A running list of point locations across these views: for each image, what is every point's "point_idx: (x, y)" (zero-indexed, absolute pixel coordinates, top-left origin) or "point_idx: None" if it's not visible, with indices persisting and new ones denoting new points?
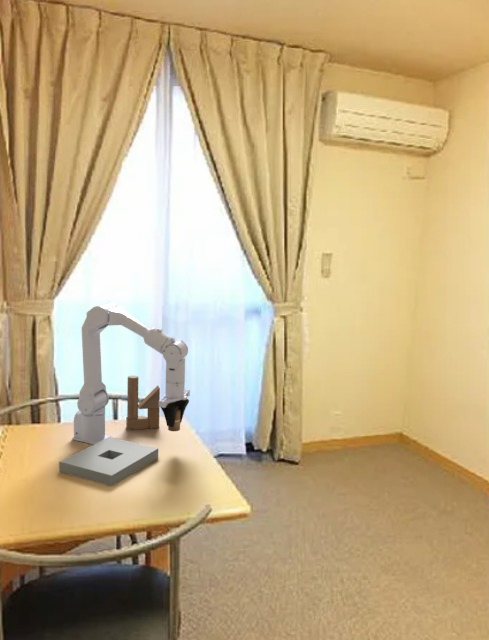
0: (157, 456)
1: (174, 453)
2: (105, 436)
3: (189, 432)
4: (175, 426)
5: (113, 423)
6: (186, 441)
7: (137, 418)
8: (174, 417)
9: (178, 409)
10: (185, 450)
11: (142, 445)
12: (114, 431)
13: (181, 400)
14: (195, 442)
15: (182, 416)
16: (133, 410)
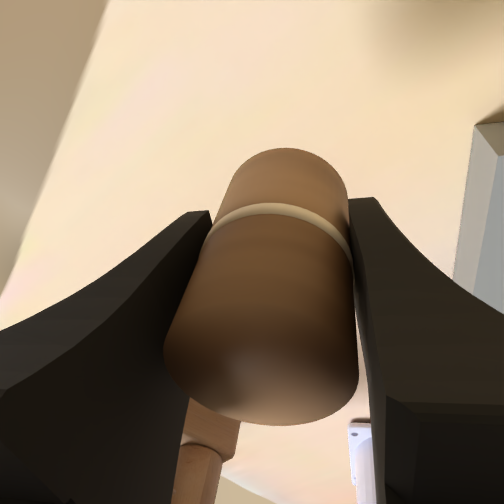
0: (490, 129)
1: (336, 86)
2: (367, 436)
3: (30, 225)
4: (327, 188)
5: (228, 460)
6: (124, 158)
7: (189, 442)
8: (393, 257)
9: (175, 353)
10: (239, 58)
11: (491, 271)
12: (285, 434)
13: (46, 498)
14: (87, 101)
15: (156, 242)
16: (201, 494)
